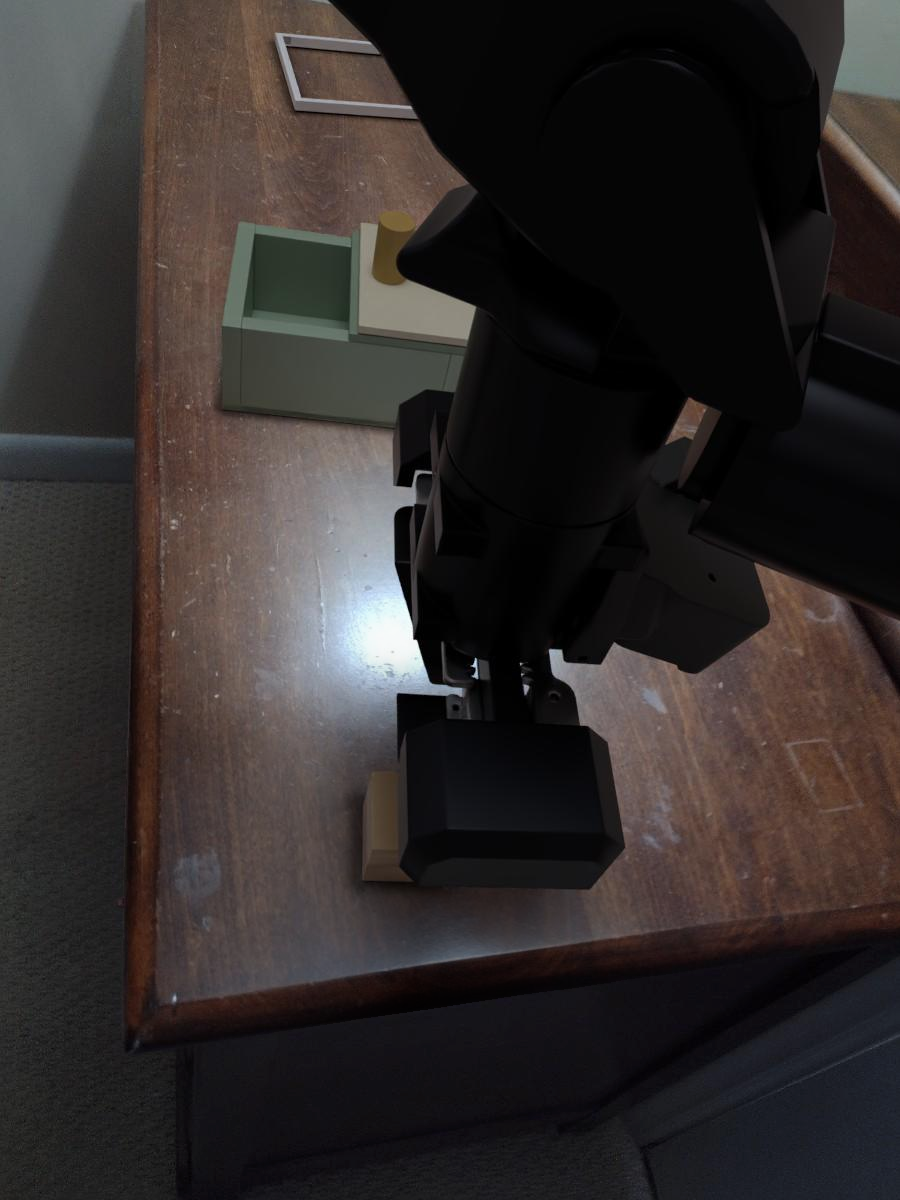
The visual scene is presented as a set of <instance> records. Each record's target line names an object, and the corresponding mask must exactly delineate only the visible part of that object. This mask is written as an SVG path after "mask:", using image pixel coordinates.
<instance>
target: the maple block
mask: <svg viewBox="0 0 900 1200" xmlns="http://www.w3.org/2000/svg"><path fill="white" fill-rule="evenodd" d="M398 773H399V771H377V770H373V771H371V775H370V778H369V782H368V786H367V789H366V792H365V796H364V801H363V804H362V848H361V849H362V860H361V861H362V864H361V871H362V872H361V881H363V882H365V881H367V882H410V883H412V882H413V883H415V882H414V881H412V880H411V879H410V878H409V877H408V876H407V875H406V874H405V873H404V872H403V871H402V870H401V869H400V868H399V859H398V789H397V784H398Z"/></svg>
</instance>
